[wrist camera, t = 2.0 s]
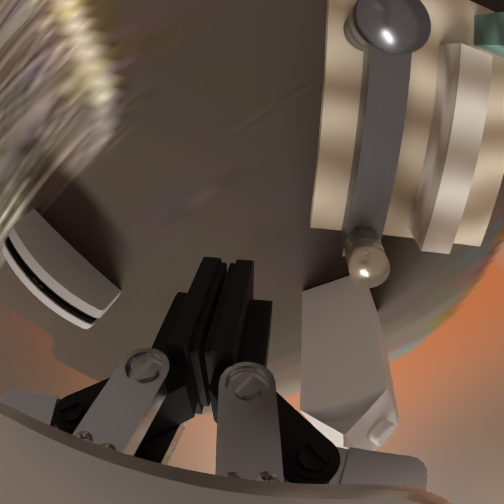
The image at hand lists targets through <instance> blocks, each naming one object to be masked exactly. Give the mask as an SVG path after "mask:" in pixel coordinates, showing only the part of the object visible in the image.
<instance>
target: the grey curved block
mask: <svg viewBox="0 0 504 504" xmlns="http://www.w3.org/2000/svg"><path fill="white" fill-rule="evenodd" d="M2 252H3V254H4V256H5V258H6V260H7V261H8V263H9V265H10V266H11V268H12V269H13V271H14V272H15V273H16V275H17V276H18V277H19V278H20V280H21V281H22V282H23V283H24V284H25V286H26V287H27V288H28V289H29V290H30V291H31V292H32V293H33V294H34V295H35V296H36V297H37V298H38V299H40V300H41V301H42V302H43V303H44V304H45V305H47V306H48V307H49V308H50V309H52V310H53V311H55V312H56V313H57V314H59V315H60V316H62V317H63V318H65V319H67V320H68V321H70V322H72V323H74V324H76V325H78V326H79V327H81V328H84V329H88V328H90V327H91V326H93V325H94V324H95V323H96V322H97V321H98V320H99V319H100V317H101V316H102V315H103V314H104V313H105V312H106V311H107V309H108V308H109V307H110V306H111V305H112V304H113V303H114V301H115V300H116V299H117V298H118V297H119V295H120V293H121V290H120V289H118V288H117V287H116V286H115V285H114V284H113V283H111V282H110V281H109V280H108V279H107V278H106V277H105V276H104V275H102V274H101V273H100V272H99V271H98V270H97V269H96V268H95V267H93V266H92V265H91V264H90V263H89V262H88V261H87V260H86V259H85V258H84V257H83V256H82V255H80V254H79V253H78V252H77V251H76V250H75V249H74V248H73V247H72V246H71V245H70V244H69V243H68V242H67V241H66V240H65V239H64V238H63V237H62V236H61V235H60V234H59V233H58V232H57V231H56V230H55V229H54V228H53V227H52V226H51V225H50V224H49V223H48V222H47V221H46V220H45V219H44V218H43V217H42V216H41V215H40V214H39V213H38V212H37V211H36V210H35V209H32V210H31V211H30V212H29V213H28V214H26V215H25V216H24V217H23V218H21V219H20V220H19V221H18V222H17V223H15V224H14V225H13V227H12V228H11V229H10V230H9V231H8V236H7V237H6V238H5V239H4V242H3V245H2Z"/></svg>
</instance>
